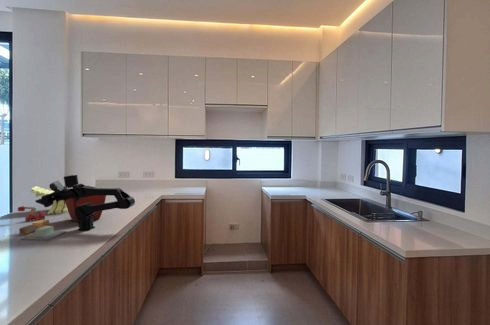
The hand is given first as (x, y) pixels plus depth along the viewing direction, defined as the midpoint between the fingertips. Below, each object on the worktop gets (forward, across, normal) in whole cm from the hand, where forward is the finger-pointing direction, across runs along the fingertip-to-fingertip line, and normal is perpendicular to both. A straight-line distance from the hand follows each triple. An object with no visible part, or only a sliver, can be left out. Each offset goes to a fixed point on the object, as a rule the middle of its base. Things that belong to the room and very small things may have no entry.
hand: (41, 198), depth 167 cm
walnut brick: (+4, +12, +15) cm, 19 cm away
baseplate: (-8, +16, +16) cm, 24 cm away
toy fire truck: (+21, -13, +16) cm, 29 cm away
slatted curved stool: (+21, -41, +21) cm, 51 cm away
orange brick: (+5, 0, +17) cm, 18 cm away
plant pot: (-10, -17, +22) cm, 30 cm away
